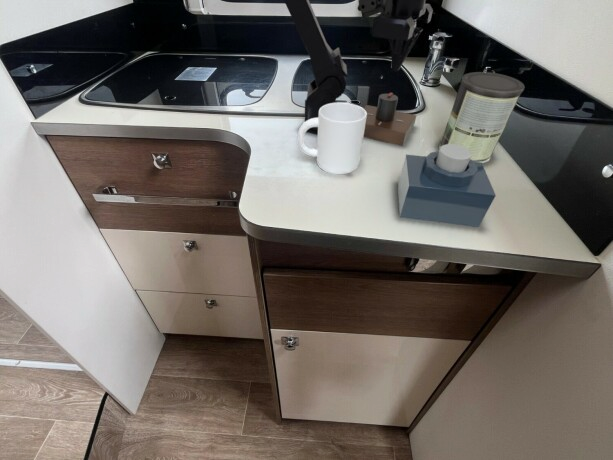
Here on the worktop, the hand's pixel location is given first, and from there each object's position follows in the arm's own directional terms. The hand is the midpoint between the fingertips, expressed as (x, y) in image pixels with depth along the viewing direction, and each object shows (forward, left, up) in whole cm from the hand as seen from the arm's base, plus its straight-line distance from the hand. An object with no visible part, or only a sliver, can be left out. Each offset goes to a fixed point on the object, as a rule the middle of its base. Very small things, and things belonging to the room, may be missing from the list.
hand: (395, 70), depth 63 cm
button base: (+16, -22, -13) cm, 30 cm away
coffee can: (+18, -1, -13) cm, 22 cm away
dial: (0, 0, -10) cm, 10 cm away
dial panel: (0, 0, -13) cm, 13 cm away
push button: (+16, -22, -5) cm, 27 cm away
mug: (-5, -19, -13) cm, 24 cm away
